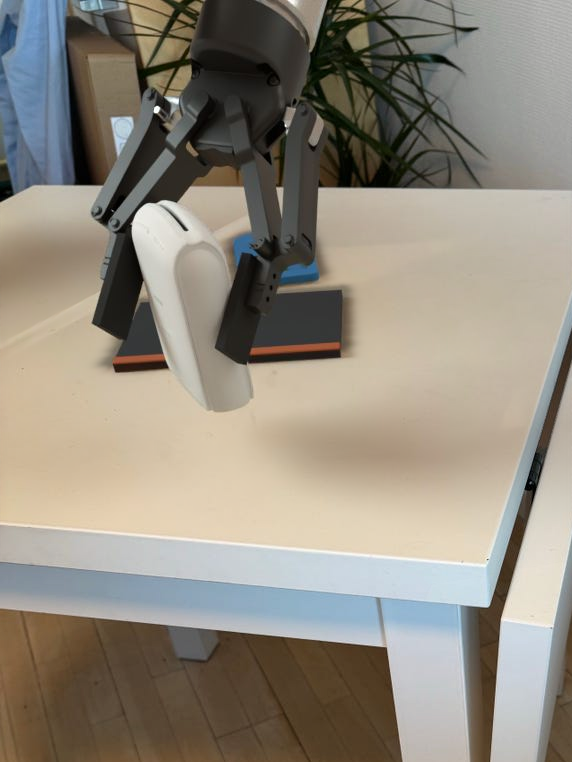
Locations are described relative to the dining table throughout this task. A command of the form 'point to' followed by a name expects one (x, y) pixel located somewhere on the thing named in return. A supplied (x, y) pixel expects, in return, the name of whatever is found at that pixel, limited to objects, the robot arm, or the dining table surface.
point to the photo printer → (189, 302)
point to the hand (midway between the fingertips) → (168, 344)
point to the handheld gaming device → (290, 274)
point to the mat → (273, 336)
